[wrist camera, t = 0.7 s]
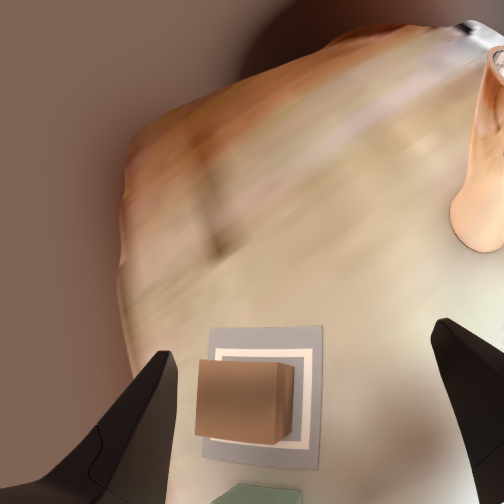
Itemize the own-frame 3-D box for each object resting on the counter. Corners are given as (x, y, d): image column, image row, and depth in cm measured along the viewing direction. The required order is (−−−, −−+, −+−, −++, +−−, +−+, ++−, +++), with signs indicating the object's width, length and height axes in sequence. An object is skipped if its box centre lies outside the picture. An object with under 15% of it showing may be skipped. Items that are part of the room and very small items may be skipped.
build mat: (317, 468, 17) (316, 470, 17) (204, 456, 20) (201, 457, 20) (322, 326, 22) (321, 325, 21) (212, 328, 25) (209, 327, 24)
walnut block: (291, 432, 19) (273, 445, 15) (227, 426, 21) (195, 434, 16) (294, 366, 21) (277, 362, 17) (230, 365, 23) (199, 359, 18)
